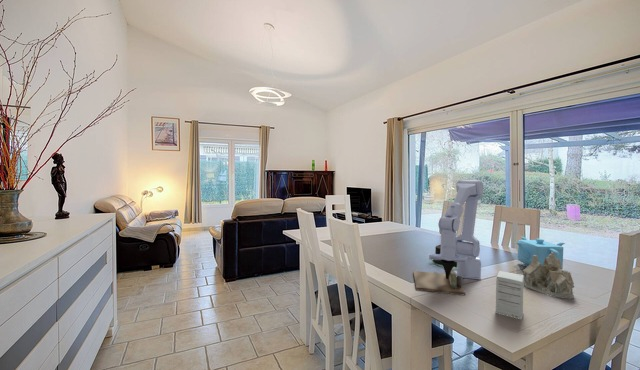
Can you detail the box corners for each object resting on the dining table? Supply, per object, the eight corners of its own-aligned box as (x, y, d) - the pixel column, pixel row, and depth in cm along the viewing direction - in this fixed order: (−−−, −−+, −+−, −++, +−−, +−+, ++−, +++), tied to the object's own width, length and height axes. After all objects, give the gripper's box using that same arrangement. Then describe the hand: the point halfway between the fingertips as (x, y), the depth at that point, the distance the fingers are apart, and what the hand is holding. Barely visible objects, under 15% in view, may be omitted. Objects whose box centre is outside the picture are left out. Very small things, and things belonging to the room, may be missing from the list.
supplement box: (497, 305, 101) (499, 270, 101) (523, 311, 97) (524, 275, 96) (494, 312, 96) (495, 276, 95) (521, 320, 91) (523, 281, 90)
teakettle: (560, 277, 129) (561, 245, 128) (511, 267, 143) (512, 238, 142) (564, 268, 142) (566, 239, 142) (519, 259, 156) (520, 233, 155)
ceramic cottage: (518, 278, 127) (521, 246, 125) (565, 287, 119) (569, 252, 118) (525, 294, 113) (529, 257, 111) (579, 304, 105) (583, 266, 104)
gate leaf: (446, 274, 128) (446, 263, 128) (451, 275, 127) (451, 264, 127) (450, 287, 113) (451, 275, 113) (456, 288, 113) (456, 276, 112)
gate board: (455, 276, 129) (455, 265, 129) (465, 295, 109) (466, 282, 109) (413, 272, 133) (413, 262, 133) (416, 289, 114) (416, 277, 114)
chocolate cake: (453, 256, 162) (453, 240, 161) (479, 267, 142) (479, 249, 142) (421, 258, 158) (422, 241, 157) (443, 270, 138) (444, 251, 138)
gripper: (429, 246, 116) (428, 279, 116) (469, 249, 111) (468, 284, 112) (429, 242, 122) (428, 273, 123) (466, 245, 118) (465, 277, 118)
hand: (447, 278), depth 118 cm, fingers closed
